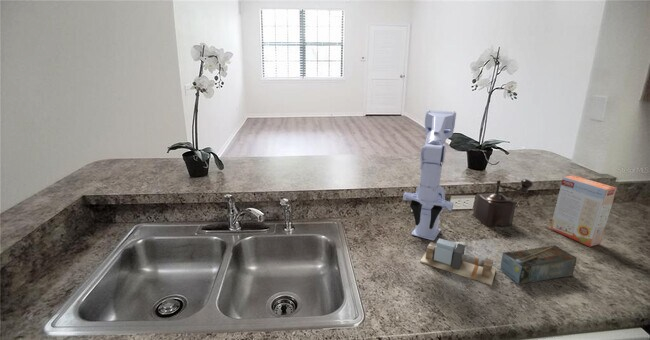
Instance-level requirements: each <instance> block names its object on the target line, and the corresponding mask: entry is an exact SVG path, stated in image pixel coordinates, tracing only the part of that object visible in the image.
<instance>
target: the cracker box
mask: <svg viewBox="0 0 650 340" xmlns="http://www.w3.org/2000/svg"><path fill="white" fill-rule="evenodd" d="M616 191H617V187H614V186H611V185H609V184H605V183H601V182H598V181H595V180H591V179H588V178H584V177H580V176H578V175H568V176H563V177H562V181H561V185H560V187H559V192H558V196H557V200H556V205H555V208H554V212H553V216H552V220H551V225H550V230H551V231H554V232H556V233H559V234H560V235H563V236H564V237H567V238H570V239H572V240H574V241H576V242H579V243H580V244H583V245H585V246H587V247H594V246H597V245H601V242H602V239H603V235H604V232H605V229H606V225H607V224H608V223H607V222H608V218H609V215H610V213H611V212H610V211H611V209H612V206H613V202H614V199H615V195H616V193H617V192H616Z"/></svg>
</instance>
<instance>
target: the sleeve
mask: <svg viewBox="0 0 650 340" xmlns="http://www.w3.org/2000/svg"><path fill="white" fill-rule="evenodd" d="M435 244H436V246H435V253H434V260H436V261H439V262H442V263H445V264H449V265H451V263H452V261H453V258H452V256H453V252H454V251H455V249H456V247H457V242H455V241H450V240H448V239H447V240H446V239H444V238H438V240H436V243H435Z"/></svg>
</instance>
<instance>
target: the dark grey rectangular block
mask: <svg viewBox="0 0 650 340" xmlns="http://www.w3.org/2000/svg"><path fill="white" fill-rule="evenodd" d="M465 248H466V245H465V244H461V243H458V244H456V249H455V251H454V257H453V264H452V268H455V269H458V270H459V269H460V266H461V264H462V262H463V261H461V258H462V254H464V255H465V252H466V251H465V250H466V249H465Z"/></svg>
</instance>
